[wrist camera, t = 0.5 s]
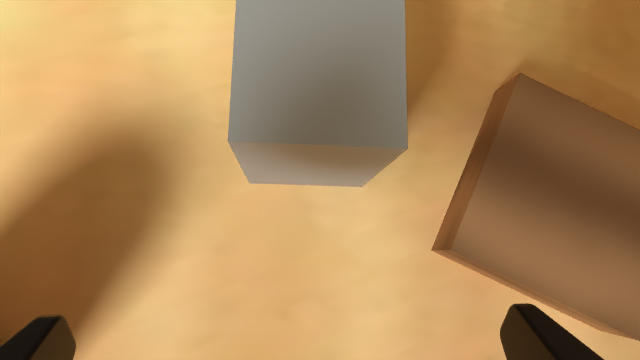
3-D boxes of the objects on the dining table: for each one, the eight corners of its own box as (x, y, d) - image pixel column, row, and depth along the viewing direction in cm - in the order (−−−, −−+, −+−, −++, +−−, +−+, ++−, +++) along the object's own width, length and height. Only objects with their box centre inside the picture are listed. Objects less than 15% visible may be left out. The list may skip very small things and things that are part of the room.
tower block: (361, 187, 22) (407, 148, 14) (249, 183, 22) (227, 141, 13) (361, 82, 23) (404, -12, 15) (254, 76, 23) (237, -24, 14)
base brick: (593, 328, 22) (640, 340, 20) (428, 250, 22) (450, 250, 19) (643, 167, 24) (693, 156, 21) (491, 94, 24) (520, 72, 21)
